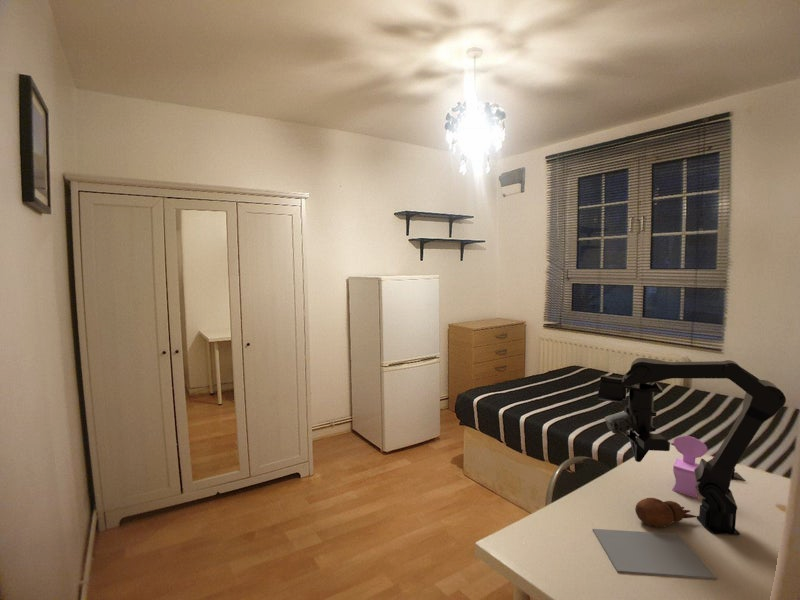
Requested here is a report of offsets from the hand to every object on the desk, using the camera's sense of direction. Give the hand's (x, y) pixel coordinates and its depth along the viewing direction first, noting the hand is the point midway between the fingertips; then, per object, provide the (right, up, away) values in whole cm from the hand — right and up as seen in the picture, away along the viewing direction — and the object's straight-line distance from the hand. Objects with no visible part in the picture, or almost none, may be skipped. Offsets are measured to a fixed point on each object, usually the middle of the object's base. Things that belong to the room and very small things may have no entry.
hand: (637, 461), depth 111 cm
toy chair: (+20, -12, +9) cm, 25 cm away
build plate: (+38, -12, +18) cm, 43 cm away
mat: (-8, -14, -18) cm, 24 cm away
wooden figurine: (-4, -10, -8) cm, 13 cm away
